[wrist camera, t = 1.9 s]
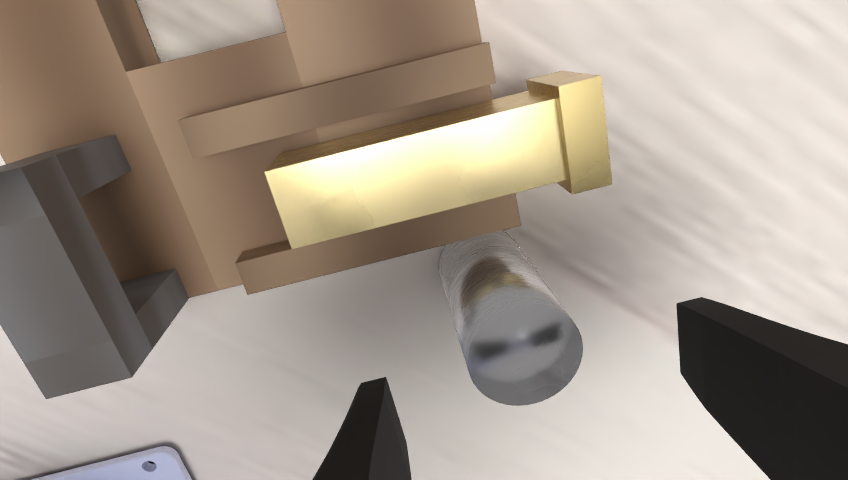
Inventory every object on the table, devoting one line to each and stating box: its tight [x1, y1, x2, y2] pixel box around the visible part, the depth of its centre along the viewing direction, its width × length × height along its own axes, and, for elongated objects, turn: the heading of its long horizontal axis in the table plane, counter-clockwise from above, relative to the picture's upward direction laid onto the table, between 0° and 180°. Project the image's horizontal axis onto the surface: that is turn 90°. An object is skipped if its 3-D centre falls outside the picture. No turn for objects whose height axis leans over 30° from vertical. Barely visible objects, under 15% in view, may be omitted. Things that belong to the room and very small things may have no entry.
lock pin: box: [265, 71, 612, 249], centre depth 13 cm, size 8×3×3 cm, turn 103°
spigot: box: [439, 230, 583, 405], centre depth 16 cm, size 3×3×6 cm
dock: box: [0, 0, 521, 399], centre depth 13 cm, size 13×12×6 cm
